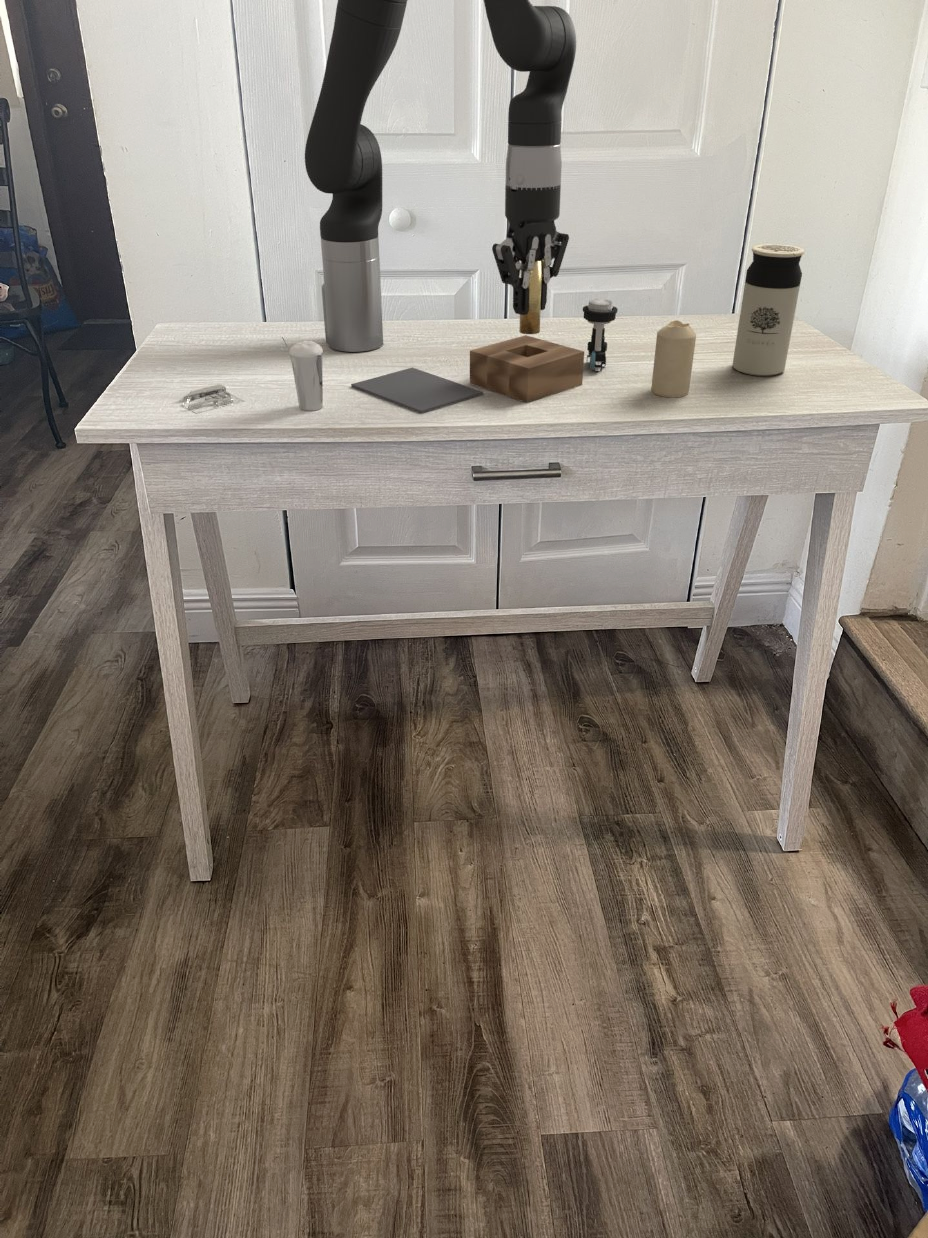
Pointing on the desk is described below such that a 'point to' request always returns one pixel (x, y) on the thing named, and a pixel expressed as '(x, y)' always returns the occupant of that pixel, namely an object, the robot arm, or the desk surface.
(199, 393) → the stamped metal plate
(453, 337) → the desk surface
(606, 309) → the push button
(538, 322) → the pin
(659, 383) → the candle
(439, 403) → the mat
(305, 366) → the milkshake
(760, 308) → the travel mug
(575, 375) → the socket block
